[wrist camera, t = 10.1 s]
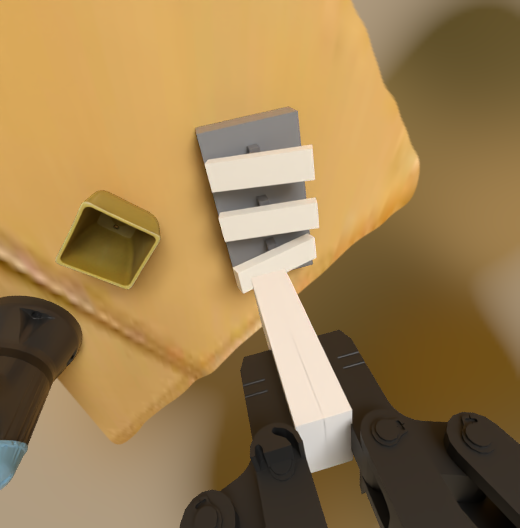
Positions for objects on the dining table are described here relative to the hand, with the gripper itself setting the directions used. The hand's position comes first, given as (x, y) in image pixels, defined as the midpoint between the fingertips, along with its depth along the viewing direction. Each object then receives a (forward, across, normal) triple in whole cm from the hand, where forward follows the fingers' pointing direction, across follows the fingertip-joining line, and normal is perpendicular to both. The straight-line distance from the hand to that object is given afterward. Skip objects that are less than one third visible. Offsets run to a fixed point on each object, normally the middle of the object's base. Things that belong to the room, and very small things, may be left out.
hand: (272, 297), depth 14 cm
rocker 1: (+25, +4, -2) cm, 25 cm away
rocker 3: (+25, +4, -16) cm, 30 cm away
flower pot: (+33, -15, -7) cm, 37 cm away
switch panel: (+32, +4, -9) cm, 34 cm away
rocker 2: (+25, +4, -9) cm, 27 cm away
